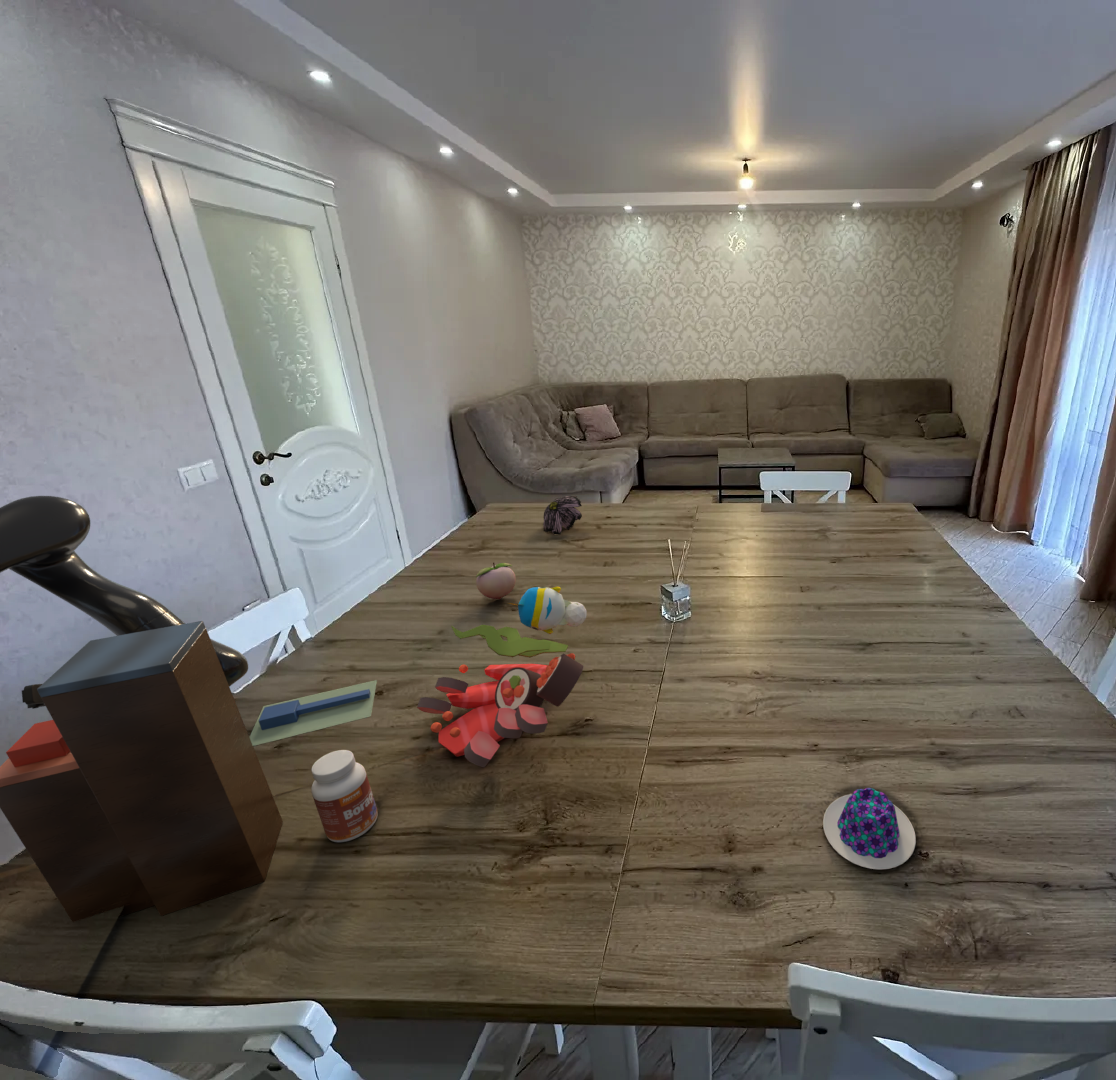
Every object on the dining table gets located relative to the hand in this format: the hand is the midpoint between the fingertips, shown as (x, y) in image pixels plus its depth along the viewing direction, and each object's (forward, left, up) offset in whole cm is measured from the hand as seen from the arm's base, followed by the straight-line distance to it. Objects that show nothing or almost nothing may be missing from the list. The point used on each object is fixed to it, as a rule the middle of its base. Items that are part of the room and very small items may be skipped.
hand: (78, 684), depth 66 cm
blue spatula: (+15, +23, -25) cm, 37 cm away
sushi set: (+47, +8, -25) cm, 54 cm away
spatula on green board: (+15, +23, -25) cm, 37 cm away
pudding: (+87, -40, -25) cm, 99 cm away
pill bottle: (+24, -8, -25) cm, 36 cm away
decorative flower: (+73, +101, -25) cm, 126 cm away
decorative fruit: (+49, +55, -25) cm, 77 cm away
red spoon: (0, -2, -3) cm, 4 cm away
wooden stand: (+6, -8, -25) cm, 27 cm away
